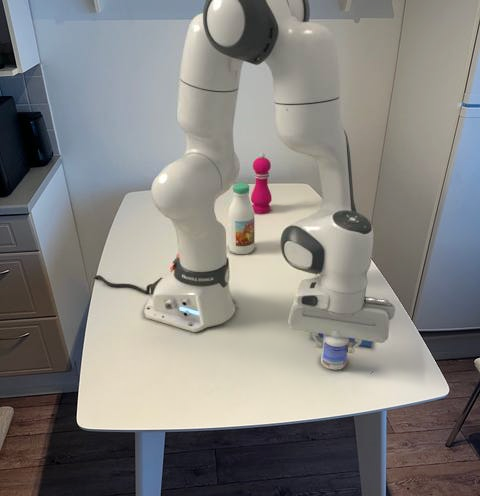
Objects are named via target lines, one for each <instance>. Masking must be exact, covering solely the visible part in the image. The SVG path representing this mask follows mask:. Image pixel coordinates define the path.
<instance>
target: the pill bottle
mask: <svg viewBox="0 0 480 496" xmlns="http://www.w3.org/2000/svg"><path fill="white" fill-rule="evenodd" d="M340 333H341V332H338V331H332V334H331V335H328V334H324V335H323V345H322V349H321V355H320V356H321V357H320V362H321V364H322V365H323V367H325V368H326V369H328V370H332V371H333V370H335V371H336V370H341V369H343V368H344V367H345V366H346V364H347V359H348V353H347V350H348V345H349V338H347V337H341V335H340Z"/></svg>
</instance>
